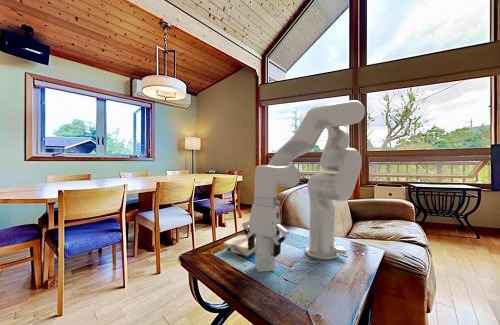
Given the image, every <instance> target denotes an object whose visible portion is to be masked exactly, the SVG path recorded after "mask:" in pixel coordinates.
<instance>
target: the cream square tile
mask: <svg viewBox="0 0 500 325" xmlns="http://www.w3.org/2000/svg"><path fill="white" fill-rule="evenodd" d="M223 246H225V247H230V252H231V253H234V254H238V255H242V256H245V257H249V256H251V255H252V254H255V247H254V248H253V249H251V250H248V238H247V235H246V234H243V233H239V234H237V235H236V236H233V237H231V238H229V239H228V240H226V241H224V242H223ZM255 246H256V236H255Z"/></svg>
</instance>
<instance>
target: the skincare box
mask: <svg viewBox="0 0 500 325" xmlns="http://www.w3.org/2000/svg"><path fill="white" fill-rule="evenodd" d="M255 237H256V246H255V252H254V254H255V258H254V259H255V260H254V267H255V269H256V271H257V272H259V273H260V272H270V271H271V272H272V271H275V269H276V265H275V264H276V257H274V244H275V242H274V240H273V239H272V238H269V237H265V236H262V235H256V234H255Z"/></svg>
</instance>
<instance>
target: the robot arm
mask: <svg viewBox="0 0 500 325" xmlns="http://www.w3.org/2000/svg"><path fill="white" fill-rule="evenodd" d="M365 110H366V109H365V106H364V105H363V103H362V102H361V101H358V100H355V99H353V100H347V101H342V102H341V101H340V102H332V103H327V104H323V105H319V106H315V107H312V108H310V109H309V110H308V111H307V112H306V114H305V116H304V118H303V119H302V121H301V123H300V124H299V126H298V127H297V129H296V131H295V133H294V134H293V136H292V137H291V138H290V139H289V140H288V141H286V142H285V143H284V145H282V146H281V147H279V149H278V150H277V151H276V152H275V153H274V154H273V156H272V157H271V159H270V161H269V162H268V164H262V165H261V164H259V165H257V166H255V168H254V192H253V194H254V195H253V199H254V200H253V204H251V205H252V206H251V209H250V215H249V220H247V221H246V222H243V223H242V224H241V225H242V229H243V233H244V235H247V238H248V250H251V249H253V248H254V247H255V237H256V235H262V236H265V237H269V238H272V239H273V240H274V242H275V244H274V257H275V258H276V257H278V256H279V255H280V254H281V247H282V243H283V242H284V241H285V240H286V239H287V237H288V236H289V234H290V232H289V230H287V229H286V228H284V227H283V226H282V225H281V212H280V207H279V206H278V205H280V204H281V200H279V199H278V197H277V196H278V195H277V194H278V187H285V188H292V187H296V185H298V184H299V183H300V182H301V179H302V178H301V177H302V174H301V171H300V170H299V169H298V168H297V167H296V166H295V165H294V166H293V165H290V163H291V162H292V161H293V160H296V159H297V158H298V157H300V156H304V155H305V154H307V153H309V152H310V151H312V150H313V149H314V147H315V146H316V144H317V143H318V141H319V138H320V136H321V135H322V133H323V132H324V130H325V129H327V140H326V143H325V146H324V148H323V151H322V153H321V155H320V160H319V165H320V168H321V169H322V171H323V170H324V171H325V173H324V172H317V173H314V174H312V175H311V176H310V177H309V178H308V181H307V192H308V197H309V198H308V199H309V232H308V234H309V239H308V240H309V241H308V242H309V243H308V245H306V247H304V248H305V249H304V251H305V254H306V255H307V256H309V257H311V258H314V259H316V260H317V259H318V260H322V261H323V260H324V261H328V260H329V261H331V260H335V259H337V258H338V257H339V254H340V255H344V256H346V255H347V249H345V247H344V246H338V244H337V241H335V238H336V237H335V235H336V229H335V228H336V208H335V204H334V201H337V202H346V201H348V200H349V199H350V198H351V197H352V195H353V194H354V190H355V188H356V184H357V181H358V179H359V175H360V173H361V170H362V166H363V165H362V163H363V160H362V155H361V153H360V152H359V150H357V149H355V148H352V147H349V146H350V141H351V139H350V135H349V132H348V131H347V129H346V126H350V125H355V124H358V123H360V122H361V121H362V120H363V119H364V117H365V113H366V111H365ZM327 172H329V173H327ZM332 173H336V174H332ZM281 234H282V236H280V235H281ZM254 235H255V236H254Z"/></svg>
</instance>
